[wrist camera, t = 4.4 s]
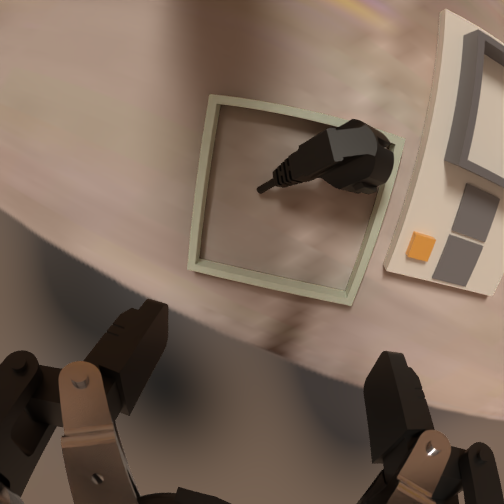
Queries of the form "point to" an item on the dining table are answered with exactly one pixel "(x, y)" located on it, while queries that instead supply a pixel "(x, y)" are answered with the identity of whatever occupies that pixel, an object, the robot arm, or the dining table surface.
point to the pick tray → (263, 278)
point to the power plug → (339, 160)
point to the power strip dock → (458, 168)
